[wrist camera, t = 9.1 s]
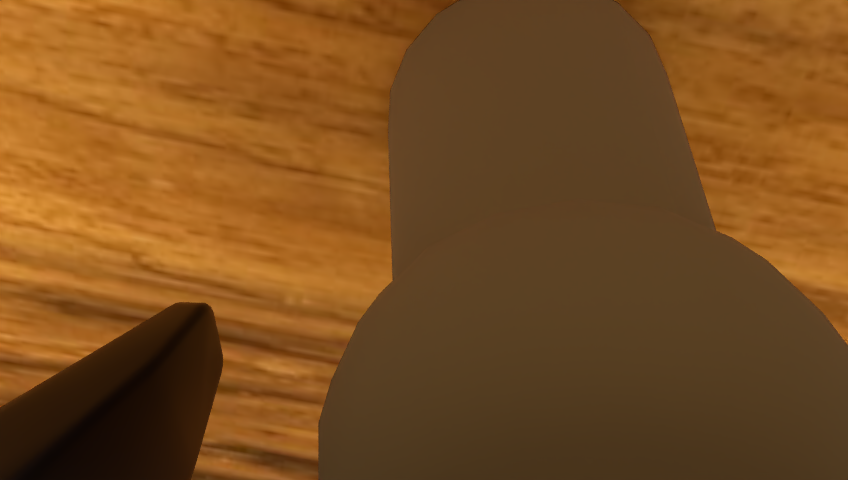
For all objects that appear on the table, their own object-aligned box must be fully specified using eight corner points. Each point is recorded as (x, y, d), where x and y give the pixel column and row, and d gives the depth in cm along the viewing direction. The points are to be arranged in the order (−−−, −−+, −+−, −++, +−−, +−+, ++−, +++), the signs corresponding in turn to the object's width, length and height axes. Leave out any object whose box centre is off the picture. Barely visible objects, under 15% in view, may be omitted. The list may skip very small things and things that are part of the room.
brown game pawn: (499, 287, 17) (524, 857, 7) (330, 105, 15) (63, 577, 5) (724, 145, 15) (1177, 706, 5) (562, -94, 12) (816, 110, 3)
